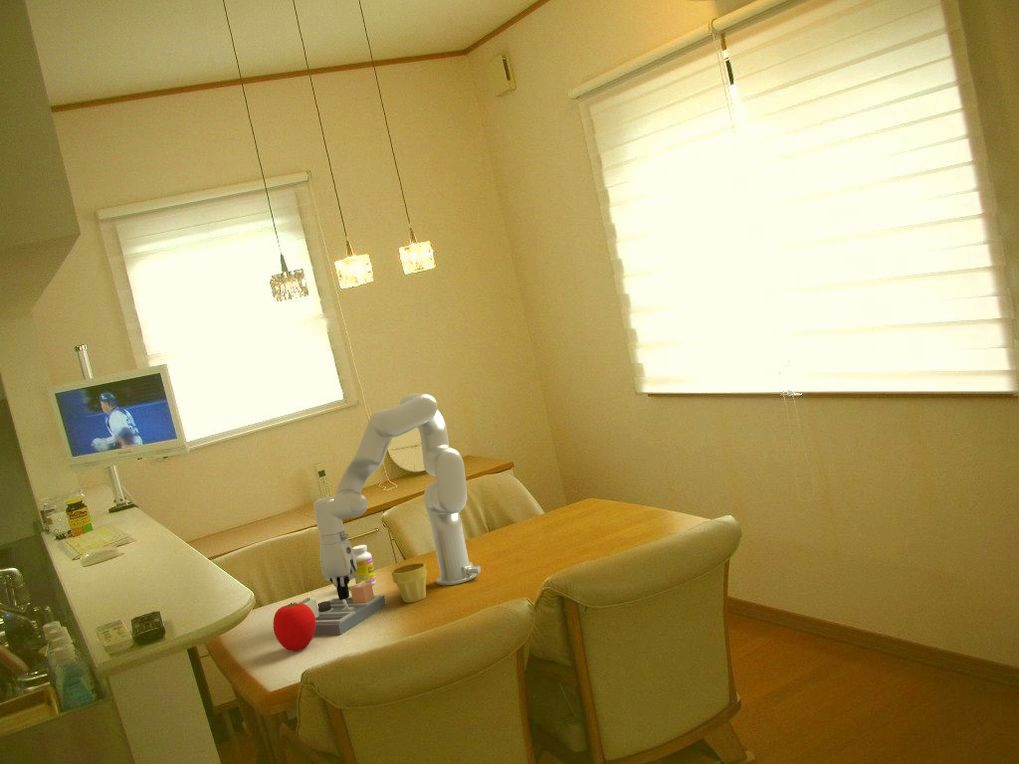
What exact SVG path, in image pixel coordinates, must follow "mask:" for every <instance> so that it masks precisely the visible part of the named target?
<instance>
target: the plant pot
mask: <svg viewBox="0 0 1019 764" xmlns="http://www.w3.org/2000/svg"><path fill="white" fill-rule="evenodd" d="M391 575H392V580H393V583H394V584H396V587H397V588H398V591H399V593H400V595H401V598H402V600H403V602H404V603H416V602H419V601H423V600H424V599H425V598H426V597H427V595H426V594H427V593H426V591H427V590H426V589H427V588H426V587H427V586H426V584H427V583H426V578H427V575H428V570H427V565H426V563H424V562H414V563H408V564H405V565H401V566H399V567H396V568H394V569H393V570H391Z"/></svg>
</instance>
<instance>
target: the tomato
mask: <svg viewBox="0 0 1019 764" xmlns="http://www.w3.org/2000/svg"><path fill="white" fill-rule="evenodd" d="M272 624H273V627H272V628H273V629H272V630H273V634H274V636H275V638H276V640H277V642H278V643H279V644H280V645H281V646H282V647H283V648H284V650H287V651H289V652H290V651H291V652H298V651H302V650H304V649H305V648H307V647H308V646H309V645H310V643H311V642H312V640H313V637H315V636H314V633H315V629H316V619H315V616H314V613H313V612H312V610H311V609H310V608H309V607H308V606H307V605H305V604H303V603H299V602H290V604H285V605H283V606H281V607H279V608H278V609H277V610H276V612H274V615H273V621H272Z"/></svg>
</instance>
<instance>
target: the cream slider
mask: <svg viewBox="0 0 1019 764" xmlns="http://www.w3.org/2000/svg"><path fill="white" fill-rule="evenodd" d="M298 603H303V604H305V605H307V606H308V607H309V608H310V609H311V610H312V612H313V613H314V616H315V618H317V617H319V612H318V602H317V599H315V598H313V599H311V597H307V598H305V599H302V600H301V601H298Z"/></svg>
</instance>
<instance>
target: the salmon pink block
mask: <svg viewBox="0 0 1019 764" xmlns="http://www.w3.org/2000/svg"><path fill="white" fill-rule="evenodd" d="M350 593H351V597H352V599H353V604H354V603H367V602H369V601H370V600H372V599H373V598H374V596H375V595H374V589H373V585H372V584H371V582H368V583H365V581H362V582H360V583H358V584H356V583H355V585H353V586H351V587H350Z"/></svg>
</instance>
